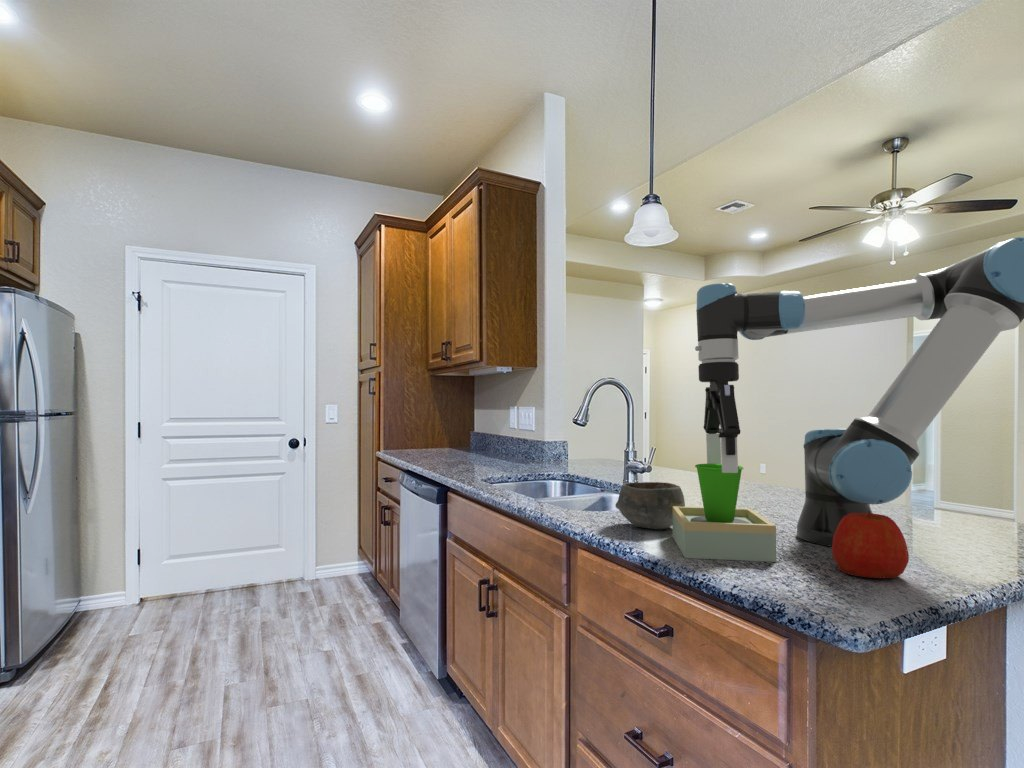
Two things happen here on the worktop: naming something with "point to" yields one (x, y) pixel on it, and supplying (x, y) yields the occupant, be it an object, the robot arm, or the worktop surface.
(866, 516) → the apple
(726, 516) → the cup
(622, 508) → the bowl
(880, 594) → the worktop surface
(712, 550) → the open box
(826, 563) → the worktop surface
